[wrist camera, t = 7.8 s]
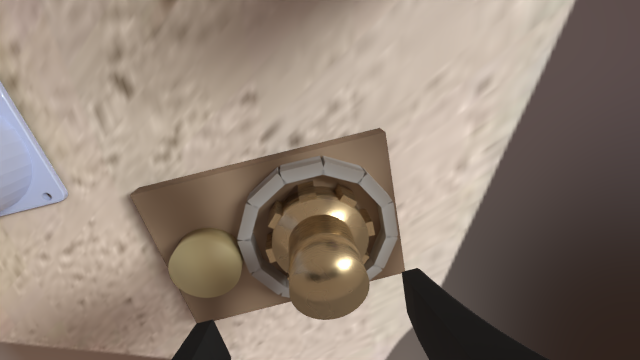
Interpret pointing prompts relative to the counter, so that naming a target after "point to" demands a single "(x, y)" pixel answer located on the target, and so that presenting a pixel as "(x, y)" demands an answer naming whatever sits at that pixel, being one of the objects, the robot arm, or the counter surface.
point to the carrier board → (262, 221)
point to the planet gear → (321, 249)
